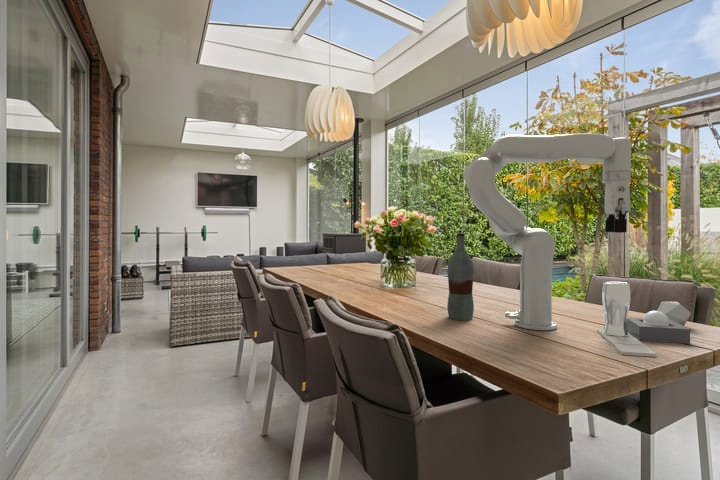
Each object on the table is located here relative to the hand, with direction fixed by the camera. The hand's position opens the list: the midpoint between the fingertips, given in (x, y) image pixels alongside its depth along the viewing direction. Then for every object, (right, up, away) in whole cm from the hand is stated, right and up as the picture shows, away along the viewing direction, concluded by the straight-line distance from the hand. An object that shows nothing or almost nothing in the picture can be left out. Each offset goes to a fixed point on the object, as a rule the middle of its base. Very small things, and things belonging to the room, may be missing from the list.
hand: (615, 232), depth 130 cm
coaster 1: (-6, -31, -10) cm, 33 cm away
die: (+19, -30, +1) cm, 36 cm away
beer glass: (-7, -30, -11) cm, 33 cm away
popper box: (+5, -31, -11) cm, 33 cm away
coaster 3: (-11, -31, -25) cm, 41 cm away
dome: (+5, -29, -11) cm, 31 cm away
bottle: (-46, -30, +15) cm, 57 cm away
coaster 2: (-9, -31, -17) cm, 36 cm away
